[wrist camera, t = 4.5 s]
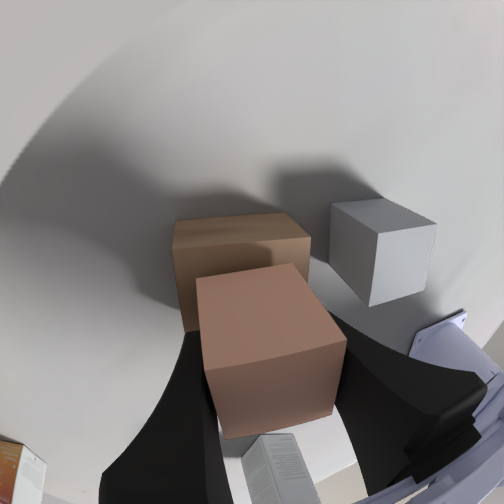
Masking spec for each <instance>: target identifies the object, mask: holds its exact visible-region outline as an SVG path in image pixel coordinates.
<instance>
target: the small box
mask: <svg viewBox="0 0 504 504" xmlns="http://www.w3.org/2000/svg"><path fill="white" fill-rule="evenodd" d="M46 468H47V464H46V463H45V462H44V461H43V460H41V459H40V458H39V457H38V456H36V455H35V454H34V453H33V452H31V451H30V450H29V449H28V448H27V447H25V446H24V445H20V444H14V443H9V442H5V441H1V440H0V504H41V502H42V494H43V486H44V480H45V473H46Z"/></svg>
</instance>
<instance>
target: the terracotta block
mask: <svg viewBox="0 0 504 504" xmlns="http://www.w3.org/2000/svg"><path fill="white" fill-rule="evenodd" d="M196 288H197V301H198V313H199V324H200V335H201V345H202V354H203V363H204V371H205V375H206V378H207V382H208V385H209V389H210V392H211V395H212V399H213V402H214V405H215V409H216V412H217V415H218V418H219V421H220V425H221V428H222V431H223V434H224V437H225V440H228V439H235V438H240V437H246V436H251V435H256V434H261V433H266V432H270V431H275V430H279V429H283V428H287V427H291V426H295V425H299V424H302V423H306V422H309V421H313V420H316V419H320V418H323V417H326V416H329V415H332V411H333V407H334V403H335V398H336V394H337V389H338V385H339V380H340V375H341V370H342V365H343V360H344V355H345V349H346V343H347V338H346V337H345V336H344V334H343V333H342V331H341V330H340V328H339V327H338V326H337V324H336V323H335V321H334V320H333V319H332V317H331V316H330V314H329V313H328V312H327V310H326V309H325V307H324V306H323V305H322V303H321V302H320V300H319V299H318V298H317V296H316V295H315V293H314V292H313V291H312V289H311V288H310V287H309V285H308V284H307V282H306V281H305V280H304V278H303V277H302V276H301V274H300V273H299V271H298V270H297V269H296V267H295V266H294V265H293V263H288V264H282V265H276V266H270V267H264V268H258V269H252V270H246V271H240V272H233V273H227V274H221V275H214V276H208V277H202V278H196Z"/></svg>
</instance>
